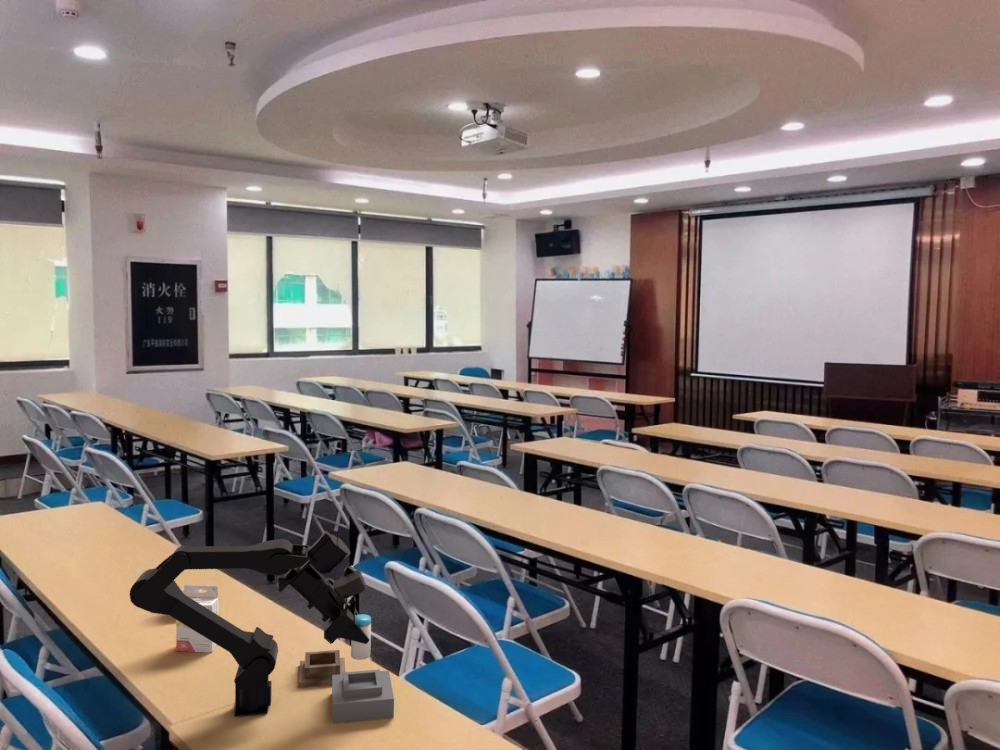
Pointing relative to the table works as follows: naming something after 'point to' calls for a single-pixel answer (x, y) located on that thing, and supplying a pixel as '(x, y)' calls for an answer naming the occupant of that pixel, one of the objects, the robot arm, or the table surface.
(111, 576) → the table surface
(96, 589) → the table surface
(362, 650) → the plug
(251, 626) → the table surface
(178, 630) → the ink cartridge box
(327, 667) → the low dock
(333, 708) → the upper dock
